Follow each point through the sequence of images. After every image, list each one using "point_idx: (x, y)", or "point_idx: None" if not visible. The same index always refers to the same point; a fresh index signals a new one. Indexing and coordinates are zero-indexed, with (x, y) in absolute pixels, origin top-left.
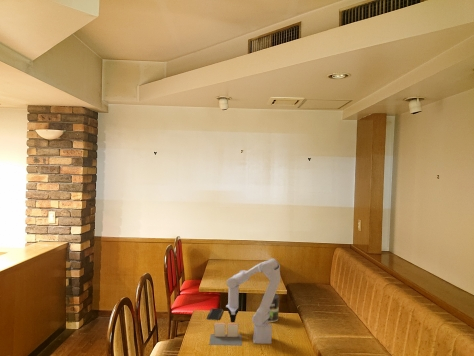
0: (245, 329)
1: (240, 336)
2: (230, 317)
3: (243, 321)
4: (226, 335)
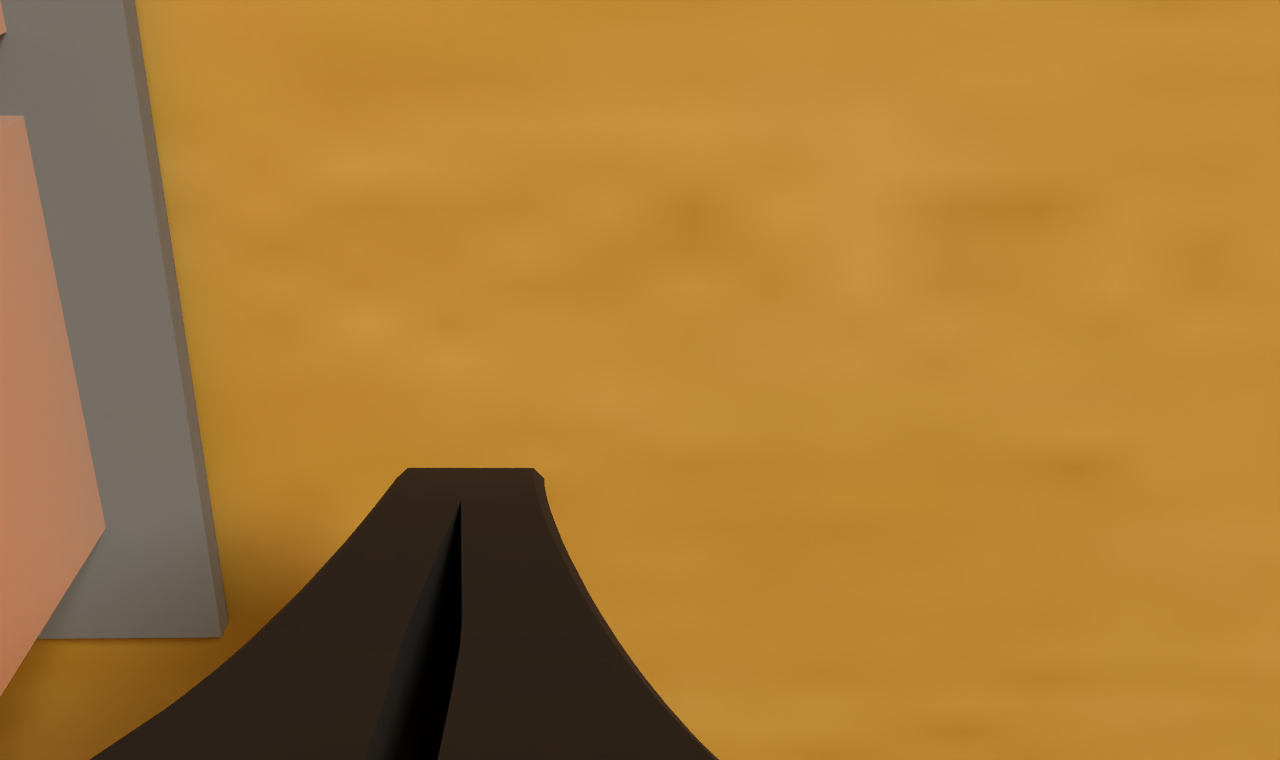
0: None
1: (77, 601)
2: (260, 640)
3: (1230, 680)
4: (30, 89)
